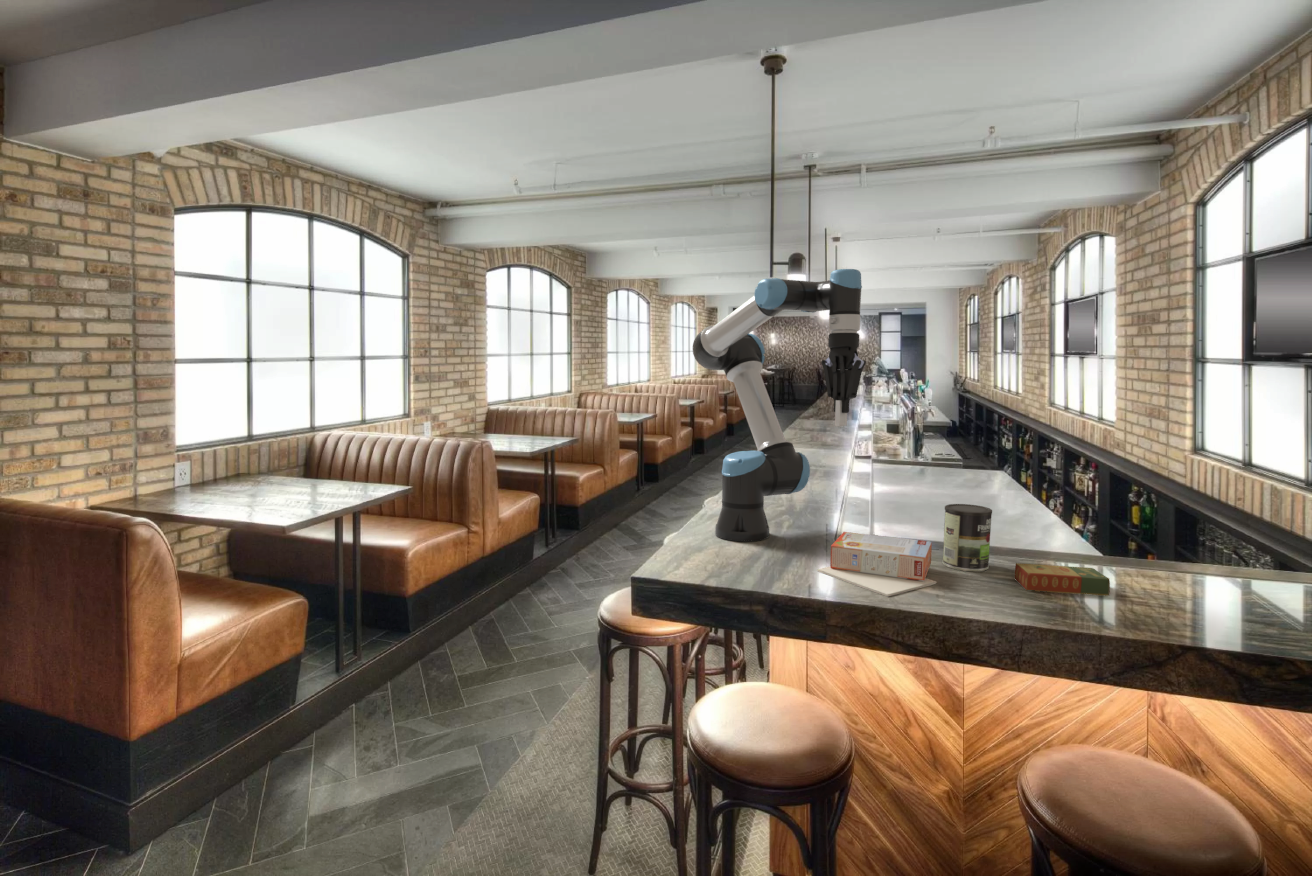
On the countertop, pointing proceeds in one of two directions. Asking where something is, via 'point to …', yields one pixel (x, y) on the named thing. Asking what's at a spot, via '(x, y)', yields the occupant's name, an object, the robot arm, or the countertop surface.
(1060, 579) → the carton
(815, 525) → the countertop surface
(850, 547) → the cracker box
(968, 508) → the coffee can
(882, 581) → the mat
